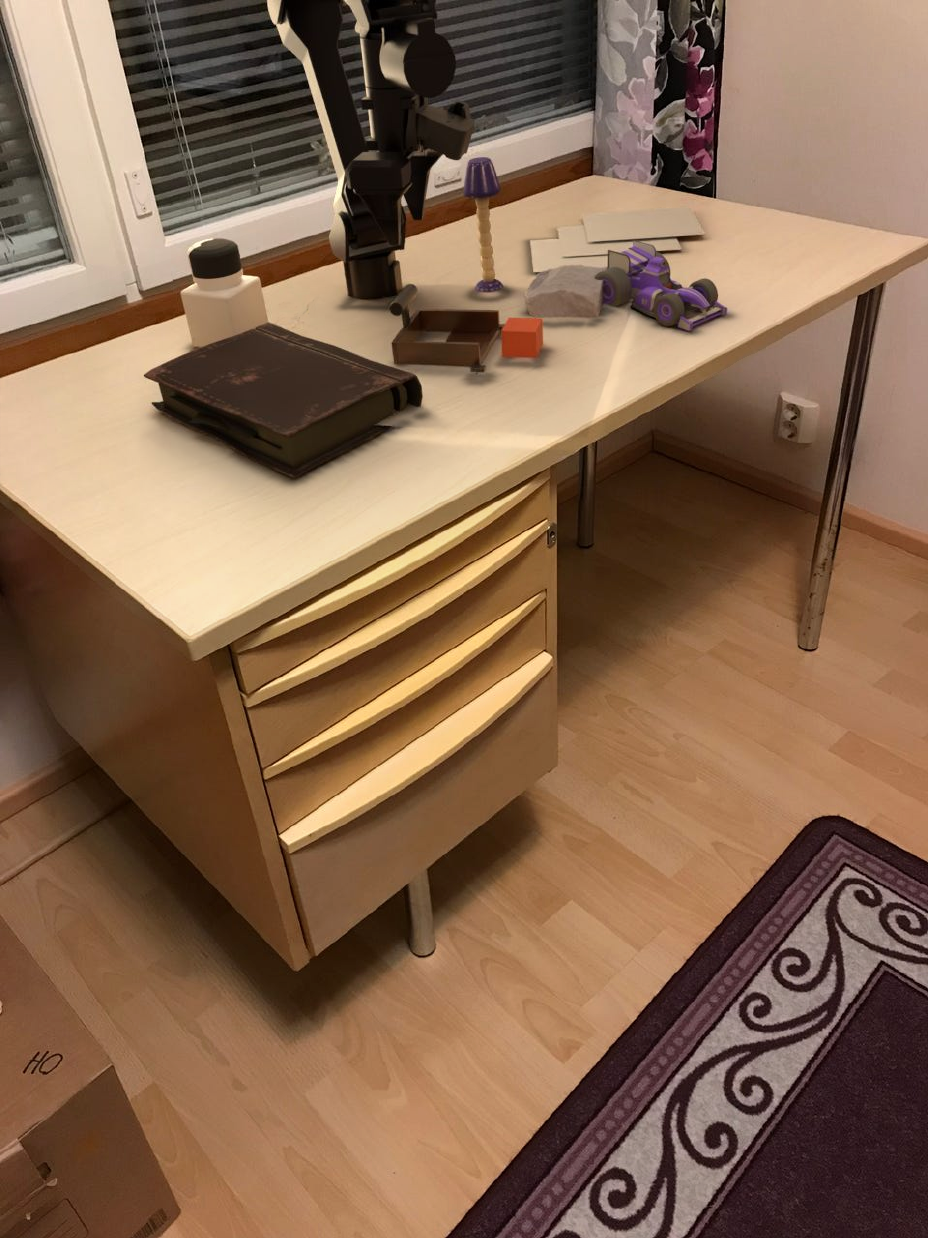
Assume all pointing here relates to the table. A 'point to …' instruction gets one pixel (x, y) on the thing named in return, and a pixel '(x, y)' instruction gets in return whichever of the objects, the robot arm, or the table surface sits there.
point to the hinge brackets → (482, 367)
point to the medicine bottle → (220, 293)
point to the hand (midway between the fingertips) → (406, 231)
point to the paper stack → (613, 236)
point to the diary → (283, 396)
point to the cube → (522, 337)
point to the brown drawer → (467, 329)
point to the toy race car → (656, 288)
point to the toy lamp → (483, 215)
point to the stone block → (566, 292)
